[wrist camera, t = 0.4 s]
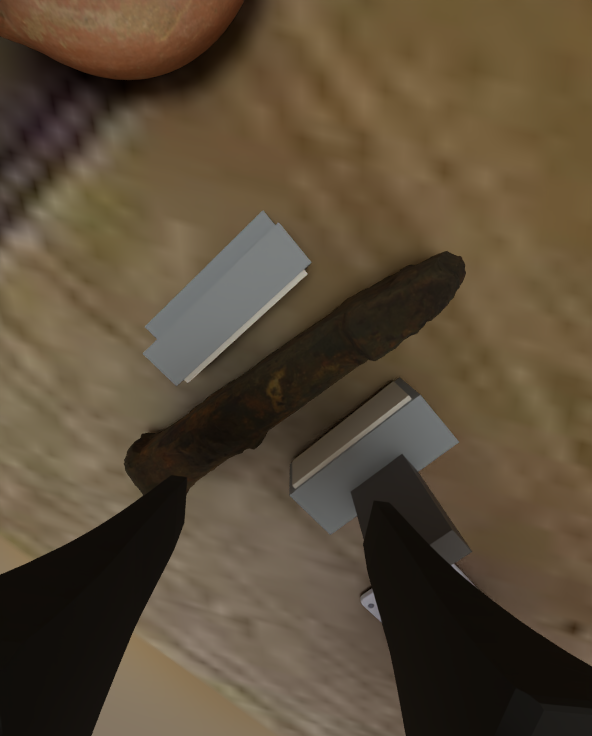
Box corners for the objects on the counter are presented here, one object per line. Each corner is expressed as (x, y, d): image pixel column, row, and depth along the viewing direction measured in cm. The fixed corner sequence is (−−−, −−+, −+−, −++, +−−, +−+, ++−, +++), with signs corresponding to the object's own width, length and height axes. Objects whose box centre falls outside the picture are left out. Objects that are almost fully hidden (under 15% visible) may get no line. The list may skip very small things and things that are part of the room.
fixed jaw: (311, 270, 19) (315, 267, 16) (198, 373, 21) (180, 389, 17) (264, 213, 18) (257, 196, 15) (150, 325, 20) (121, 333, 16)
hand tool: (188, 477, 23) (157, 536, 18) (145, 429, 22) (98, 476, 17) (459, 305, 20) (520, 312, 15) (425, 240, 19) (478, 222, 14)
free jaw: (433, 418, 22) (536, 513, 13) (324, 498, 23) (345, 636, 14) (396, 374, 21) (478, 442, 12) (287, 461, 22) (283, 581, 13)
